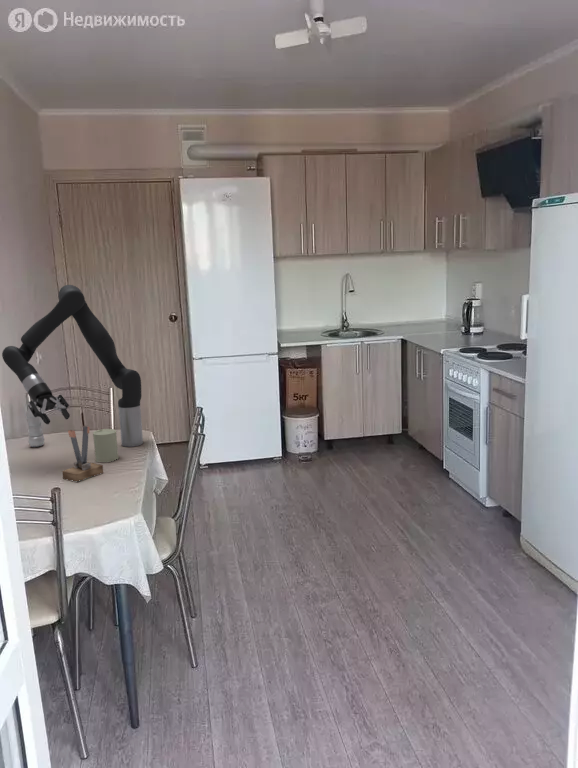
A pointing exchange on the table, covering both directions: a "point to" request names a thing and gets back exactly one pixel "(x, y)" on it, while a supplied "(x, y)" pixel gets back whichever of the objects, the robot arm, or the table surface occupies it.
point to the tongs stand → (82, 471)
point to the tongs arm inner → (85, 444)
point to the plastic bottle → (34, 429)
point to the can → (105, 445)
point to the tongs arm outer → (76, 447)
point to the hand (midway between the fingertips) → (58, 420)
